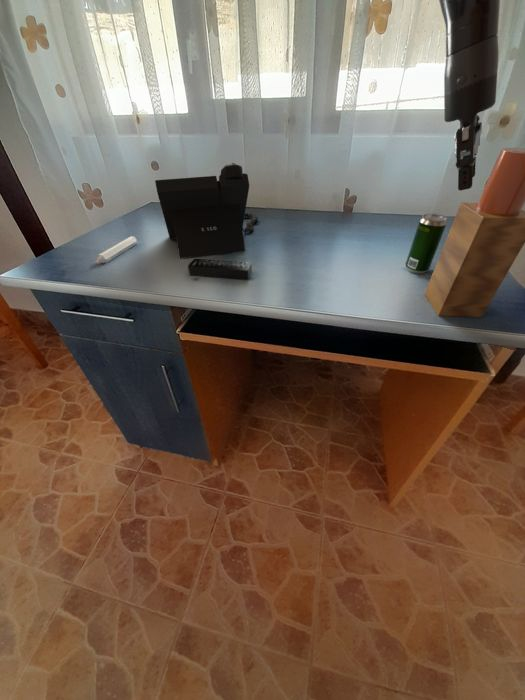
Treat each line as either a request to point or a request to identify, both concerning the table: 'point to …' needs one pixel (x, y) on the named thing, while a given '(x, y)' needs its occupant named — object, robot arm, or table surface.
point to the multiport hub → (220, 269)
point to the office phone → (207, 212)
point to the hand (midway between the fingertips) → (466, 183)
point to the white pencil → (116, 250)
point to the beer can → (425, 242)
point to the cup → (505, 184)
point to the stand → (474, 261)
